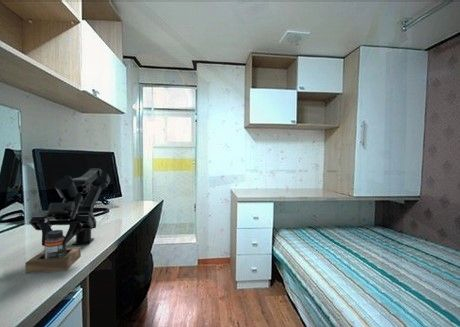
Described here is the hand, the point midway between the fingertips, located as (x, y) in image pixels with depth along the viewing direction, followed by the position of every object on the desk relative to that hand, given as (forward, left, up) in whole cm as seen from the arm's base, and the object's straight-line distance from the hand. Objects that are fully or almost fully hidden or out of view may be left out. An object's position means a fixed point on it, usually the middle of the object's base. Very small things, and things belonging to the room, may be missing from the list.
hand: (53, 244), depth 78 cm
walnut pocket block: (-1, 0, -7) cm, 7 cm away
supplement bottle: (-1, 0, -7) cm, 7 cm away
